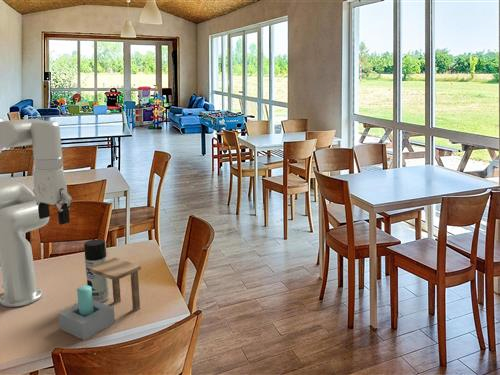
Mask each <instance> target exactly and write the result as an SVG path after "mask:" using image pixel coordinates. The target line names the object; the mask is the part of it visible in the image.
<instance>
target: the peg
mask: <svg viewBox="0 0 500 375" xmlns="http://www.w3.org/2000/svg"><path fill="white" fill-rule="evenodd" d="M76 292H77V293H76V294H77V304H78V305H79V315H81V316H83V317H86V316H88V315H90V314H92V313H94V309H93V298H92V287H91V286H87V285H80V286H79V287H78V288H77V289H76Z"/></svg>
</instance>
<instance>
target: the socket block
mask: <svg viewBox="0 0 500 375" xmlns="http://www.w3.org/2000/svg"><path fill="white" fill-rule="evenodd" d="M93 309H94V313H92V314H90V315H88V316H86V317H83V316H81V315H79V305H78V303H77V304H75V305H73V306H71V307H68V308H66V309H65V310H64V309H63V310H61V311H60V312H58V313H57V314H58V322H59V329H60V330H62V331H64V332H66V333H68V334H71V335H73V336H74V337H77V338H78V339H81V340H83V341H85V340H87V339H88V338H91V337H93V336H94V335H96V334H97V333H100V332H101V331H103V330H105V329H107V328H108V327H110V326H113V325H114V324H115V323H116V321H115V320H116V318H115V316H116V315H115V307H112V306H111V305H108V304H105V303H104V302H103V303H101V302H98V301H96V300H93Z"/></svg>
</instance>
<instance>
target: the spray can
mask: <svg viewBox="0 0 500 375" xmlns="http://www.w3.org/2000/svg"><path fill="white" fill-rule="evenodd" d="M106 246H107V244H106V241H105V240H103V239H101V238H98V239H90V240H87V241H85V242H84V244H83V247H84V262H85V272H86V286H91V287H92V298H93V300H96V301H98V302H101V303H103V304H104V303H106V302H107V301H108V300H109V299H110V287H109V278H106V277H103V276H100V275H98V274H95V273H92V272H89V268H90V267H93V266H95V265H98V264H100V263H103V262H105V261H108V260H107V259H108V258H107V248H106Z"/></svg>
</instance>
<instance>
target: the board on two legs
mask: <svg viewBox="0 0 500 375" xmlns="http://www.w3.org/2000/svg"><path fill="white" fill-rule="evenodd" d="M140 270H142V266H141V265H140V264H136V263H133V262H131V261H126V260H124V259H120V258H118V257H113V258H111V259H109V260H107V261H105V262H103V263H100V264H98V265H95V266H93V267H90V268H89V272H92V273H95V274H98V275H100V276H103V277H106V278H108V280H111V282H112V285H111V286H112V297H113V299H112V300H113V303H115V304H118V303H120V302H122V298H121V285H120V279H123V278H126V277H127V276H130V285H131V286H130V288H131V300H132V301H131V302H132V310H134V311H139V310H141V302H140V284H139V271H140Z"/></svg>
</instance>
